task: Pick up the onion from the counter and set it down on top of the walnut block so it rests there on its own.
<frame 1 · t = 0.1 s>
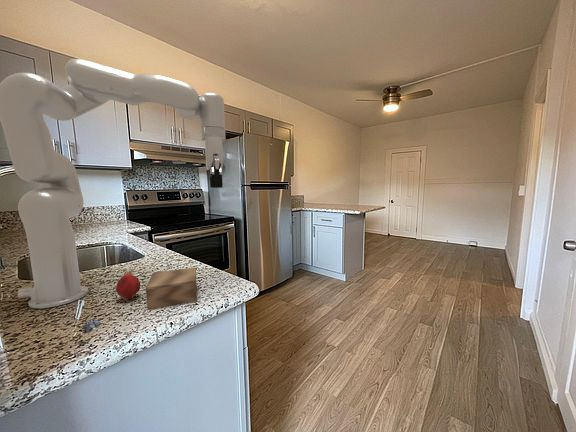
hand: (216, 187, 82), 31 cm above the worktop, tool pointing down, fingers open, 9 cm apart
onion: (129, 299, 70), on the worktop
walnut block: (174, 296, 71), on the worktop
blueberries: (88, 328, 56), on the worktop
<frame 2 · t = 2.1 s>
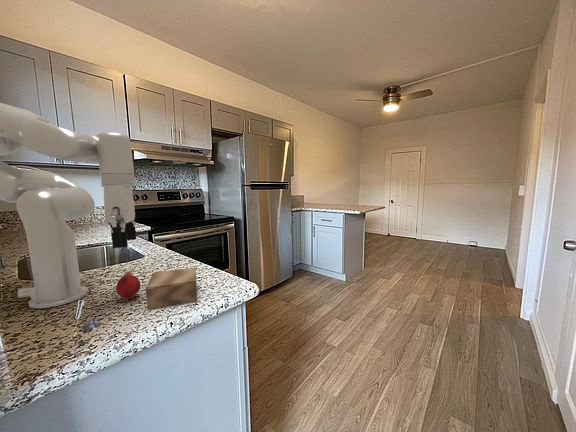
hand: (125, 243, 68), 16 cm above the worktop, tool pointing down, fingers open, 9 cm apart
nothing on the worktop moved.
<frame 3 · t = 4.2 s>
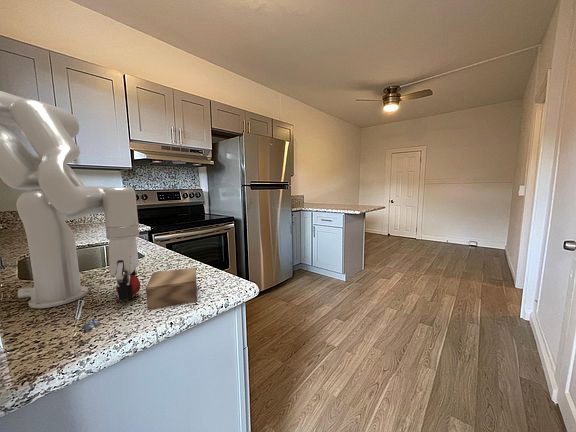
hand: (129, 293, 70), 2 cm above the worktop, tool pointing down, fingers closed on onion, 5 cm apart
onion: (129, 299, 70), on the worktop, touching gripper
everything else where it was.
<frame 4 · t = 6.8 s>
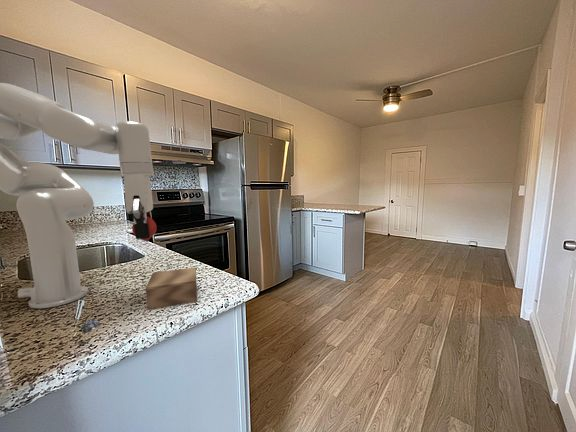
hand: (145, 235, 68), 18 cm above the worktop, tool pointing down, fingers closed on onion, 5 cm apart
onion: (146, 241, 68), point 16 cm above the worktop, touching gripper
everything else where it was.
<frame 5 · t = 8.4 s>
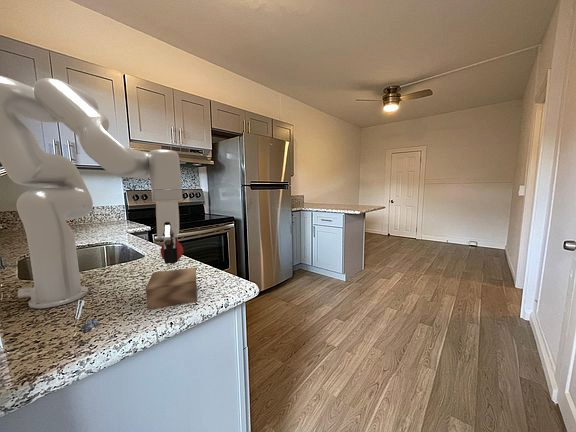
hand: (172, 258, 70), 11 cm above the worktop, tool pointing down, fingers closed on onion, 5 cm apart
onion: (173, 264, 70), point 9 cm above the worktop, touching gripper
everything else where it was.
when the fingers open (9 cm above the worktop, at t = 9.7 s): onion drops 1 cm, resting on walnut block.
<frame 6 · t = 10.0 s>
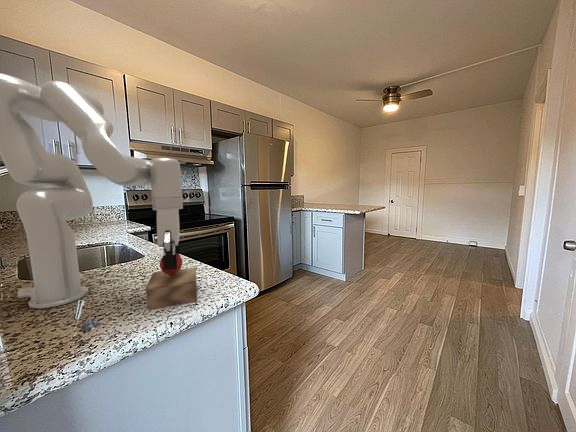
hand: (172, 263, 70), 10 cm above the worktop, tool pointing down, fingers open, 9 cm apart
onion: (172, 276, 70), point 6 cm above the worktop, touching walnut block
everything else where it was.
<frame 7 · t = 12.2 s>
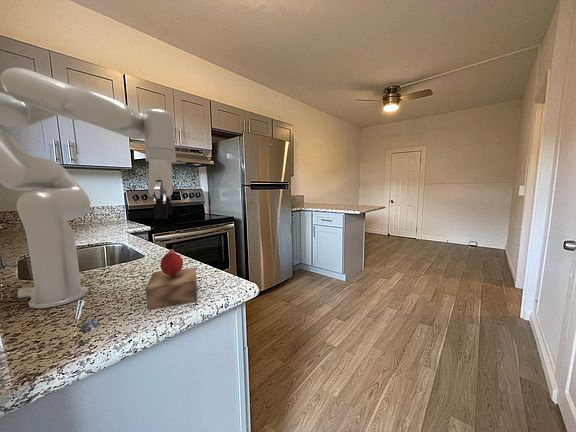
hand: (164, 216, 71), 23 cm above the worktop, tool pointing down, fingers open, 9 cm apart
nothing on the worktop moved.
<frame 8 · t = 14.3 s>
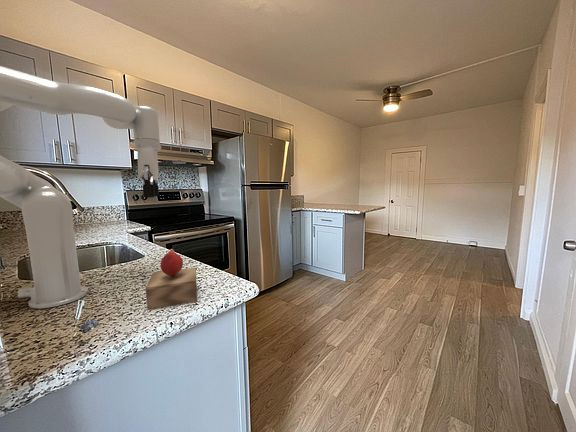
hand: (151, 196, 85), 28 cm above the worktop, tool pointing down, fingers open, 9 cm apart
nothing on the worktop moved.
at the end: onion inside the target area on the walnut block (0.1 cm from its centre), point 5.8 cm above the walnut block's base; onion touching walnut block; the gripper is holding nothing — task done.
